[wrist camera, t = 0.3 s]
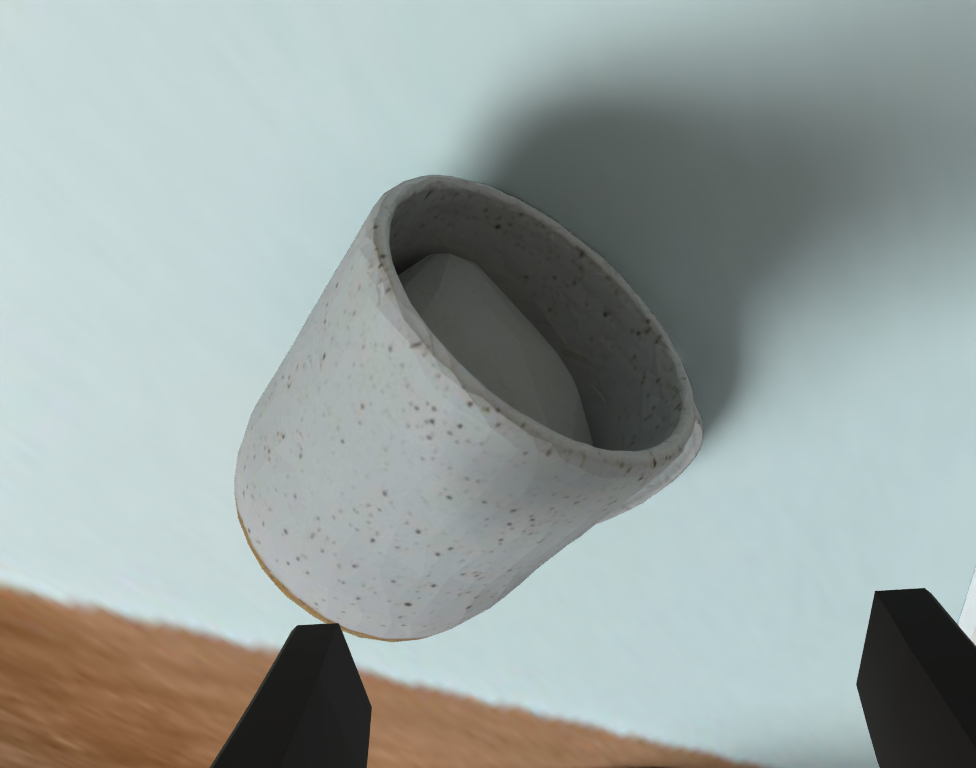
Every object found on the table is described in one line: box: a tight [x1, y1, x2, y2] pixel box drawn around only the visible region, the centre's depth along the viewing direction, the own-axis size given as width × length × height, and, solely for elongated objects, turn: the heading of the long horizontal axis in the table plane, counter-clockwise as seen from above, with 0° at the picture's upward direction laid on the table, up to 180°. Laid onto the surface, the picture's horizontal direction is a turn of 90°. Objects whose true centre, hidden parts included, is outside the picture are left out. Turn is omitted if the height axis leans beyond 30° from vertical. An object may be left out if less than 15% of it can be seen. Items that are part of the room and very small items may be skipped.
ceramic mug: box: [235, 175, 703, 642], centre depth 18 cm, size 10×8×7 cm
